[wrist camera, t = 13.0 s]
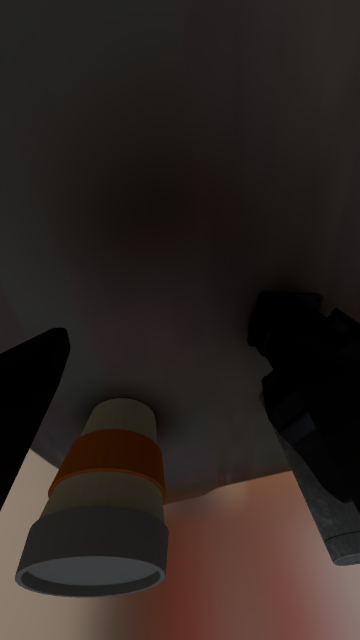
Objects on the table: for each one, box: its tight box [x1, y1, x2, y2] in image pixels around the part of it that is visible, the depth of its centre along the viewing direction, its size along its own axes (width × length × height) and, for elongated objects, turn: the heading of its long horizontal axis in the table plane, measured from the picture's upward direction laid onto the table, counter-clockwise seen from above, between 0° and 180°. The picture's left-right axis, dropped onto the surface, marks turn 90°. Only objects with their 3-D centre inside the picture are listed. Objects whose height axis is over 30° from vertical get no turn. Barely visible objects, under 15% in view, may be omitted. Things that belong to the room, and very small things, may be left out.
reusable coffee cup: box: [15, 398, 169, 597], centre depth 25 cm, size 13×13×15 cm
